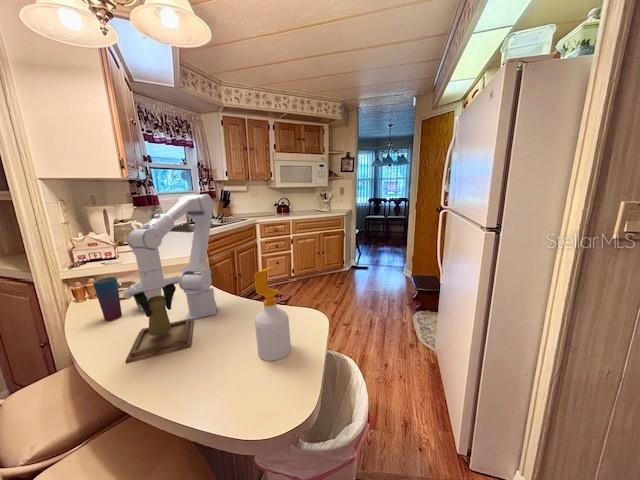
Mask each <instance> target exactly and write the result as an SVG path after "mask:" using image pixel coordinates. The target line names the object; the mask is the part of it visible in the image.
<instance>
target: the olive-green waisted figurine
mask: <svg viewBox="0 0 640 480" xmlns="http://www.w3.org/2000/svg"><path fill="white" fill-rule="evenodd" d="M147 303H148V309H149V312H150V317H148V327H149V334H150V335H152V336H158V335H162V334H165V333H167V332H168V331H169V330H170V329H171V325H170V323H171V322H170V318H169V315H168V311H167V308H166V303H167V301H166V298H165V297H164V296H162V295H161V296H153V297H151V298H149V299H148V300H147Z"/></svg>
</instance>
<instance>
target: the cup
mask: <svg viewBox="0 0 640 480" xmlns="http://www.w3.org/2000/svg"><path fill="white" fill-rule="evenodd" d="M92 284H93V289H94V291H95V293H96V297H97V301H98V302H99V305H100V309H101V312H102V315H103V318H104V321H106V322H112V321H115V320H118V319H120V318H122V317H123V313H122V305H121V300H120V299H121V297H120V291H119V286H118V278H117V276H113V275H112V276H111V275H110V276H105V277H101V278H97V279H95V280H93V281H92Z"/></svg>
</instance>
